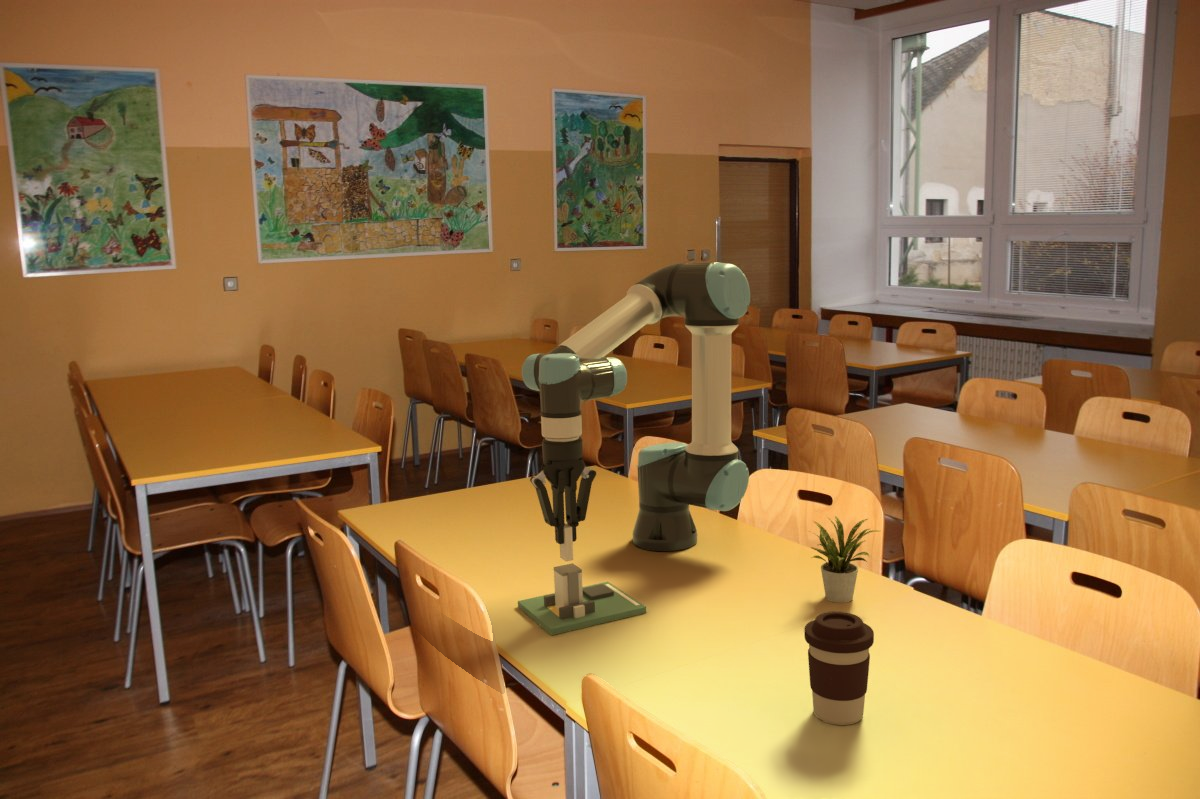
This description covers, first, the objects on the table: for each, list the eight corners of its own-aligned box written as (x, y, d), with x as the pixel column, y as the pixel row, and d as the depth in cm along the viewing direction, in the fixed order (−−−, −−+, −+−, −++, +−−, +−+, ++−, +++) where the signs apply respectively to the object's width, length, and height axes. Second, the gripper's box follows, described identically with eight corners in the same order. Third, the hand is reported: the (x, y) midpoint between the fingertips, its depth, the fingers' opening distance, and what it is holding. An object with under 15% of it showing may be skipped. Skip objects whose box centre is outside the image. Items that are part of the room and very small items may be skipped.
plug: (574, 602, 189) (572, 563, 188) (584, 610, 185) (582, 570, 184) (555, 606, 188) (553, 567, 186) (565, 614, 184) (563, 574, 182)
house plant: (889, 589, 194) (890, 510, 191) (877, 615, 181) (879, 531, 178) (817, 581, 200) (817, 504, 197) (801, 605, 187) (801, 523, 184)
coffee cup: (796, 701, 150) (796, 609, 147) (859, 696, 151) (860, 604, 148) (815, 733, 140) (816, 635, 138) (882, 728, 141) (884, 630, 138)
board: (607, 587, 200) (607, 572, 200) (646, 612, 186) (646, 596, 186) (517, 606, 192) (517, 591, 191) (551, 635, 178) (550, 618, 177)
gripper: (584, 429, 187) (588, 547, 191) (521, 438, 181) (527, 559, 185) (602, 436, 180) (606, 558, 184) (537, 445, 175) (543, 570, 179)
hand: (566, 558), depth 185 cm, fingers closed
